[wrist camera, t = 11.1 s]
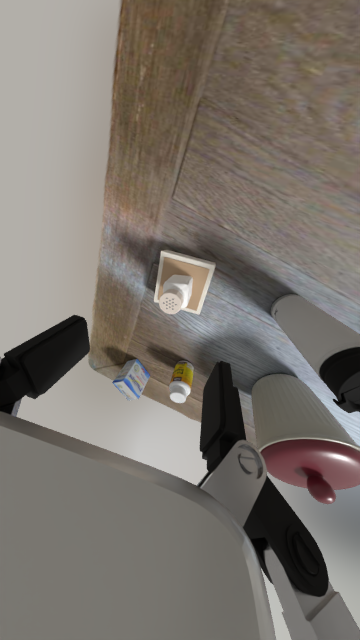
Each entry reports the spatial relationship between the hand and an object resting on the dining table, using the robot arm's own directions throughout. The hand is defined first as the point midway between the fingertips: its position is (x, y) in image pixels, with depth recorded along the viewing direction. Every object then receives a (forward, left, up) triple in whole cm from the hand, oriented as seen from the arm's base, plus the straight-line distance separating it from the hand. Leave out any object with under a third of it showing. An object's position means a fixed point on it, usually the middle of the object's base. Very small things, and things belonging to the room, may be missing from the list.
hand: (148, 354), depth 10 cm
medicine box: (+33, -9, -25) cm, 42 cm away
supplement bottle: (+26, +5, -25) cm, 36 cm away
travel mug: (+1, +21, -25) cm, 32 cm away
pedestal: (+1, -1, -25) cm, 25 cm away
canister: (+23, +31, -25) cm, 46 cm away
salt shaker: (+1, -1, -20) cm, 20 cm away
